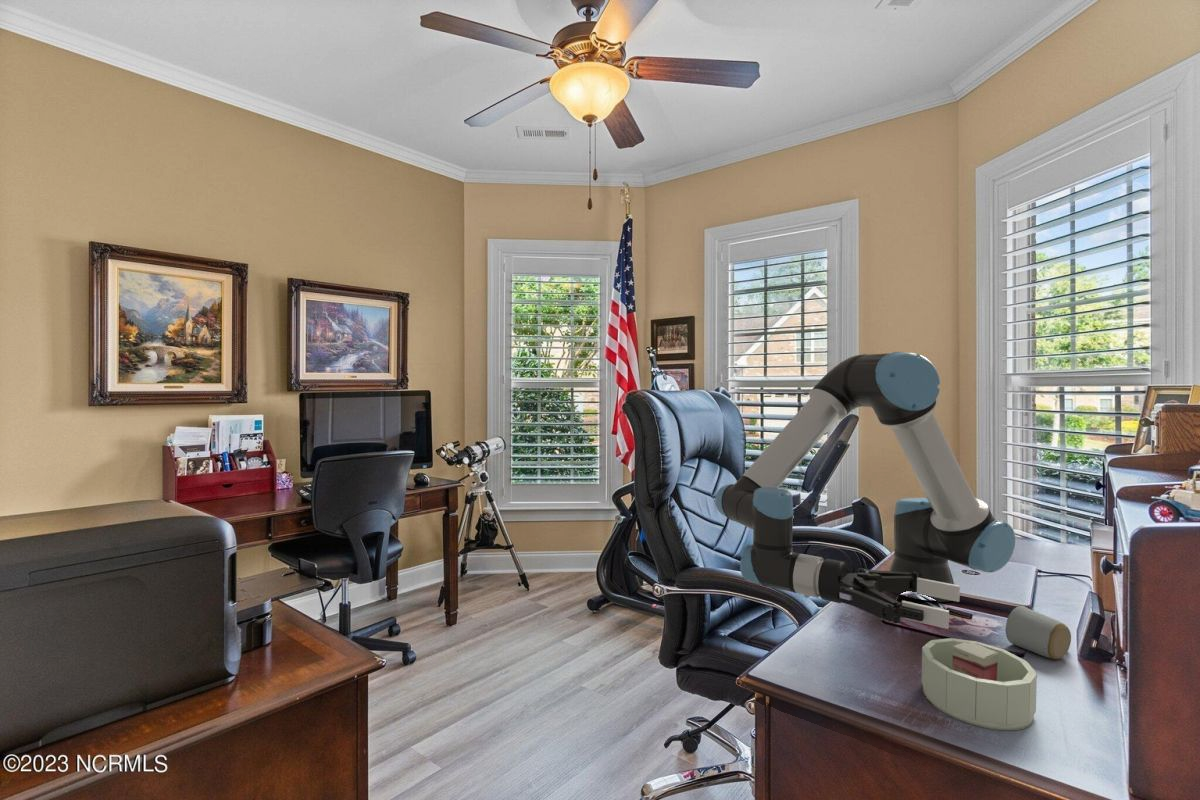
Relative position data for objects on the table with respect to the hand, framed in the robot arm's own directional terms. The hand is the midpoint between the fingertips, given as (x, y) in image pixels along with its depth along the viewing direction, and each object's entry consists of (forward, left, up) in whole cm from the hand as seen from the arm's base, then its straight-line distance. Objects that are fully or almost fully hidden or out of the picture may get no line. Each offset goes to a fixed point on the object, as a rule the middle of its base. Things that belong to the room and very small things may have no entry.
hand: (954, 606), depth 94 cm
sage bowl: (+2, +2, -15) cm, 15 cm away
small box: (+2, +2, -14) cm, 15 cm away
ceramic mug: (-11, +29, -15) cm, 35 cm away
